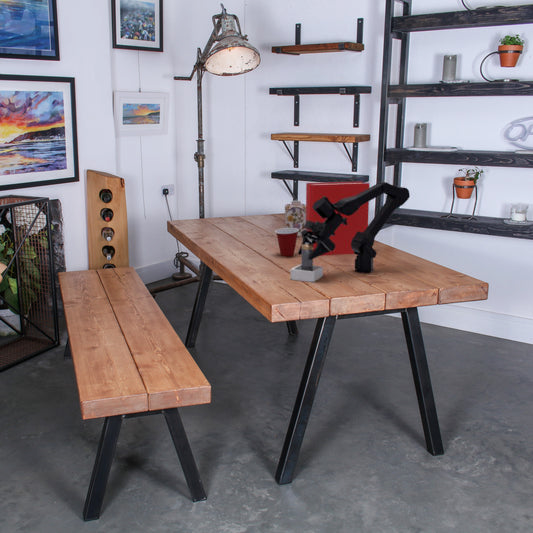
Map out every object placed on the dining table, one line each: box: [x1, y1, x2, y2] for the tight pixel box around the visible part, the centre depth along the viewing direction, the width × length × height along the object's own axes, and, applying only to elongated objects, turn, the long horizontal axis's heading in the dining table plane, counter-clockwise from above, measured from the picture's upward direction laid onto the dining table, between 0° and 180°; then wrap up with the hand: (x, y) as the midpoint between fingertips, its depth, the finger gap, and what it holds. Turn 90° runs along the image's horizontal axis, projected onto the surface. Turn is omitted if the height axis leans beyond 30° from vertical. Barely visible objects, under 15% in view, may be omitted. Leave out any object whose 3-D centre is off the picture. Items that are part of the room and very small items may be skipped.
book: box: [305, 180, 370, 257], centre depth 279 cm, size 27×8×32 cm, turn 103°
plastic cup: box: [274, 227, 299, 258], centre depth 276 cm, size 11×11×12 cm
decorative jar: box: [284, 200, 306, 236], centre depth 323 cm, size 12×12×18 cm
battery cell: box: [300, 243, 314, 271], centre depth 238 cm, size 4×4×13 cm
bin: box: [290, 263, 324, 283], centre depth 240 cm, size 10×10×4 cm
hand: (304, 256), depth 237 cm, fingers open, 9 cm apart
